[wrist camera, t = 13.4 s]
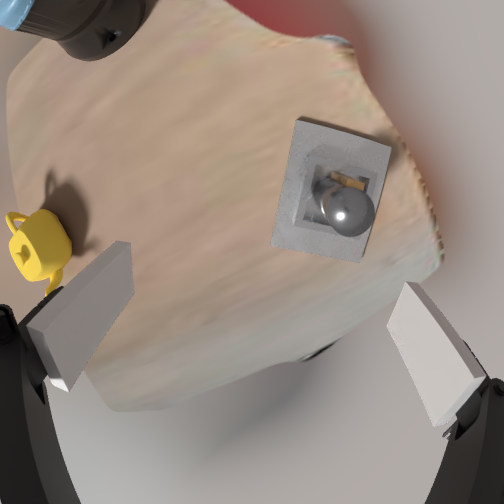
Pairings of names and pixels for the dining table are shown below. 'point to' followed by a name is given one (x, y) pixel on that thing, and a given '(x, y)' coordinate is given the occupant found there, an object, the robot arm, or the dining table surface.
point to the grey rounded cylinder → (345, 204)
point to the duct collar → (311, 174)
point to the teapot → (39, 246)
